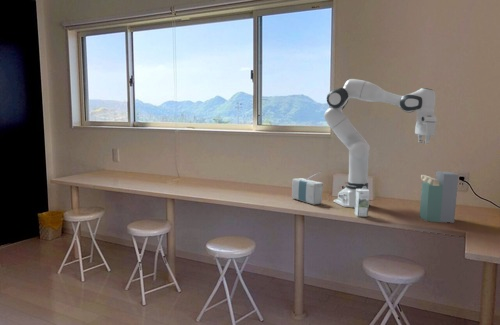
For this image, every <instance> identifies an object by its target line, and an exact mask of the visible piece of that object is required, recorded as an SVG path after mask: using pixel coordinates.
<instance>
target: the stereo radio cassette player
mask: <svg viewBox="0 0 500 325" xmlns="http://www.w3.org/2000/svg"><path fill="white" fill-rule="evenodd" d="M320 173H321V171H319V172H317V173H315V174H313V175H311V176H309V177H307V178H304V177H300V178H297V177H296V178H292V183H291V197H292V198H293V199H294V200H297V201H301V202H303V203H307V204H311V205H313V206H315V205H321V203H322V202H323V199H322V198H323V187H324V183H323V182H321V181H318V180H317V181H316V180H311V178H312V177H314V176H317V175H319V174H320Z"/></svg>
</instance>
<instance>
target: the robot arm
mask: <svg viewBox="0 0 500 325" xmlns="http://www.w3.org/2000/svg"><path fill="white" fill-rule="evenodd" d="M350 99H355V100H359V101H363V102H368V103H369V102H370V103H372V102H373V103H377V102H378V103H384V104H388V105H393V106H395V107H398V108H400V109H401V110H402V111H403V112H406V113H408V114H409V113H412V112H413V113H414V112H415V111H416V123H415V127H414V134H415V135H417V138H418V139H417V140H418V141H417V142H418V143H420V144H422V143H423V136H425V140H424V145H429V144H430V139H431V137H434V136H435V134H436V124H437V122H438V117H436V115H435V107H436V99H437V98H436V92H435V90H433V89H432V88H428V87H421V88H419V89H418V90H416V91H413V92H411V93H407V94H405V95H400V94H396V93H393V92H390V91H387V90H385V89H383V88H381V87H380V86H379V85H377V84H376V83H372V82H371V81H366V80H362V79H358V78H350V79H348V80H346V81H345V82H344V85H343V87H339V88H336V89H332V90H331V91H329V92H328V93H327V96H326V103H327V105H328V106H329V107H328V108H327V109H326V110H325V111H324V114H323V118H324V119H325V121H326V123H327V125H328V126H329V128H330V129H331V131H333V133H334V134H335V135H336V137H337V138H338V140H339V141H340V142H342V144H343V145H344V146H345V147H346V148H347V150H348V181H345V183H344V184H345V188H343V189H341V190H340V191H339V192H338V193H337V198H335V199H333V202H334V203H336V204H338V205H340V206H342V207H344V208H354V209H355V198H356V189H368V190H369V182H368V180H369V161H370V160H369V157H370V156H369V155H370V150H371V146H370V144H369V143H368V142H367V141H366V139H365V138H364V137H363V136H362V134H361V133H360V132H359V131H358V130H357V128H355V126H354V125H353V124H352V122H351V121H350V120H349V118H348V117H347V116H346V115H345V113H344V112H343V109H344V108H345V107H346V106H347V104H348V102H349V100H350Z"/></svg>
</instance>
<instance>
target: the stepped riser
mask: <svg viewBox="0 0 500 325" xmlns="http://www.w3.org/2000/svg"><path fill="white" fill-rule="evenodd" d="M435 173H436V174H435V179H436V180H439V181H440V182H439V186H433V185H431V184H429V183H427V182H425V181H422V182H421V190H420V191H421V192H420V194H421V195H420V204H419V205H420V206H419V218H421V219H422V220H423V221H424V222H426V221H430V222H429V223H447V222H450V223H451V224H452V223H453V224H454V223H455V216H456V207H457V206H456V205H457V192H458V183H459V174H457V173H455V172H451V171H441V170H440V171H439V170H438V171H436V172H435Z"/></svg>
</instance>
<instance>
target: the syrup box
mask: <svg viewBox="0 0 500 325" xmlns="http://www.w3.org/2000/svg"><path fill="white" fill-rule="evenodd" d="M369 207H370V190H369V188H368V189H356V198H355V208H354V213H353V214H354V215H355V216H356V217H357V218H359V217H360V218H368V217H369Z"/></svg>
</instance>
